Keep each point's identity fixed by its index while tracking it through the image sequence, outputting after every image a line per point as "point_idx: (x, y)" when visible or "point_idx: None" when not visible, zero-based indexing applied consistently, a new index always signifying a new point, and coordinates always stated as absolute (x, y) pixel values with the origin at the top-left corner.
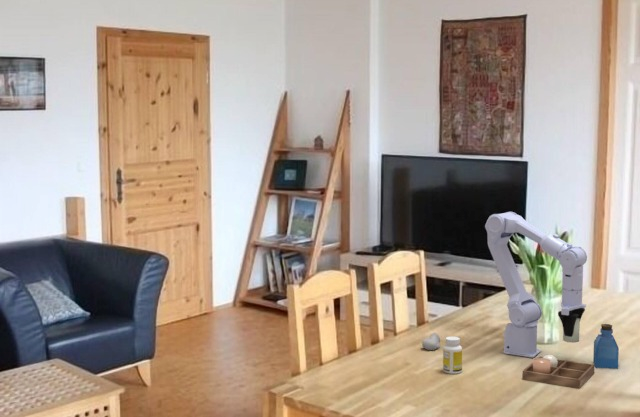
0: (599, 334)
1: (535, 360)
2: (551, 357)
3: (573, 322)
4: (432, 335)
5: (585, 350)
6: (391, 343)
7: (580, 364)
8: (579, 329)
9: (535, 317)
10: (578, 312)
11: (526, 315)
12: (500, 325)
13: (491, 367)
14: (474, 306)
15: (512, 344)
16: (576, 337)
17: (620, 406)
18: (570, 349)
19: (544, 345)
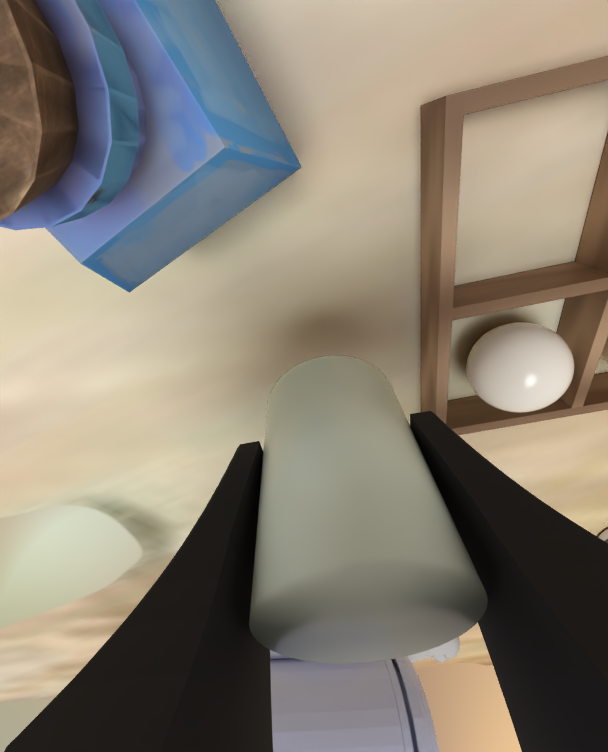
0: (72, 249)
1: None
2: (567, 370)
3: (606, 548)
4: (412, 663)
5: (42, 377)
6: (431, 658)
7: (453, 216)
8: (309, 436)
9: (293, 687)
10: (204, 735)
11: (427, 733)
12: (97, 634)
13: (540, 494)
14: (26, 698)
15: None
16: (368, 385)
17: None
18: (103, 428)
19: (155, 506)
